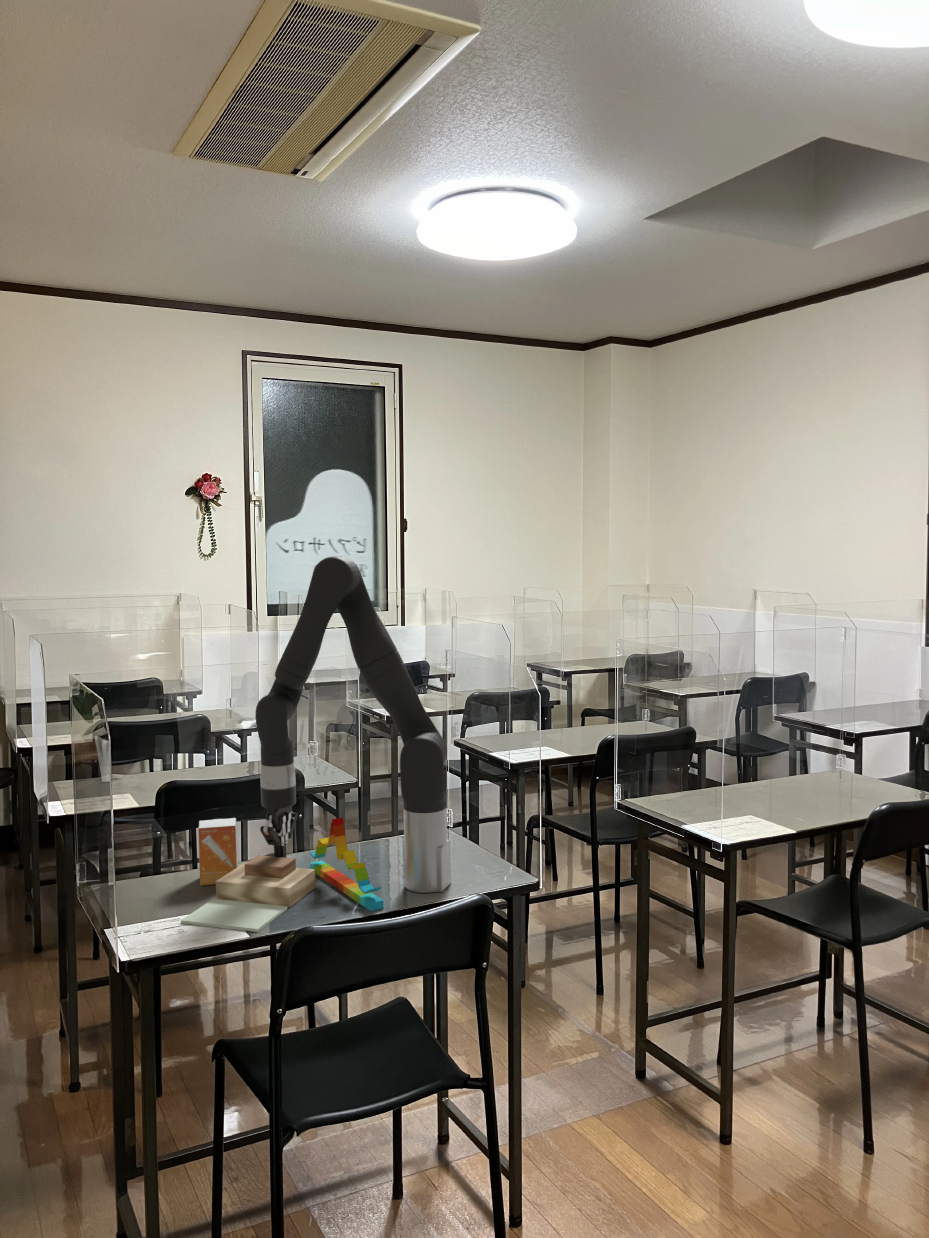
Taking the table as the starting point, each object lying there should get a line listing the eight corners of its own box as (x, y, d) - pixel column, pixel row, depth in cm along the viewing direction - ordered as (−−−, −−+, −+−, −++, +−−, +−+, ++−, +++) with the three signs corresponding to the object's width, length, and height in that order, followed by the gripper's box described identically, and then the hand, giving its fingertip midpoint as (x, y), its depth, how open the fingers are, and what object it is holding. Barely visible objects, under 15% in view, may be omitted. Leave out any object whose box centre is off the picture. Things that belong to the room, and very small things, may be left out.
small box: (199, 886, 215) (197, 827, 214) (200, 876, 221) (198, 819, 220) (238, 882, 217) (235, 824, 216) (238, 873, 223) (235, 817, 222)
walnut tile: (295, 869, 213) (295, 858, 213) (282, 878, 207) (282, 867, 207) (258, 865, 215) (258, 855, 215) (244, 874, 210) (244, 863, 210)
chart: (384, 908, 201) (382, 836, 199) (370, 912, 199) (368, 839, 198) (323, 868, 226) (321, 804, 225) (310, 871, 224) (308, 806, 223)
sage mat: (287, 909, 200) (287, 906, 200) (257, 931, 189) (257, 928, 189) (213, 901, 206) (213, 898, 205) (180, 923, 194) (180, 920, 194)
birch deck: (315, 887, 213) (314, 869, 212) (289, 907, 201) (288, 888, 201) (245, 880, 218) (244, 862, 218) (216, 899, 206) (215, 881, 206)
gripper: (278, 792, 207) (281, 872, 208) (307, 777, 219) (309, 853, 221) (247, 789, 209) (249, 869, 211) (277, 775, 222) (280, 850, 223)
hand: (280, 861), depth 216 cm, fingers closed
